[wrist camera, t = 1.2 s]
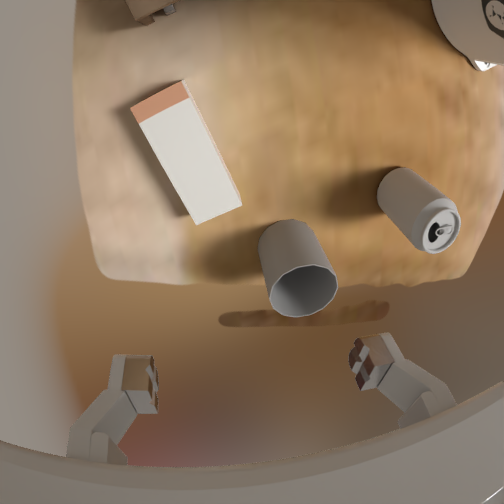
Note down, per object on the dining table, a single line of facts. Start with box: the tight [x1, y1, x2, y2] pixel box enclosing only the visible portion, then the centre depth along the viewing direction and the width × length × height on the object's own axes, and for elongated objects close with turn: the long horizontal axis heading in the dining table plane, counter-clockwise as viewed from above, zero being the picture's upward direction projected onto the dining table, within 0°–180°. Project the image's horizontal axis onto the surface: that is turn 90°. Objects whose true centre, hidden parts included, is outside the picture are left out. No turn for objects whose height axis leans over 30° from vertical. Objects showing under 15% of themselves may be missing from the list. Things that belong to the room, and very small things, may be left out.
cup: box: [258, 219, 338, 317], centre depth 40 cm, size 8×8×10 cm
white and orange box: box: [130, 80, 242, 225], centre depth 33 cm, size 6×16×3 cm, turn 22°
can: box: [377, 168, 461, 254], centre depth 36 cm, size 8×8×12 cm
